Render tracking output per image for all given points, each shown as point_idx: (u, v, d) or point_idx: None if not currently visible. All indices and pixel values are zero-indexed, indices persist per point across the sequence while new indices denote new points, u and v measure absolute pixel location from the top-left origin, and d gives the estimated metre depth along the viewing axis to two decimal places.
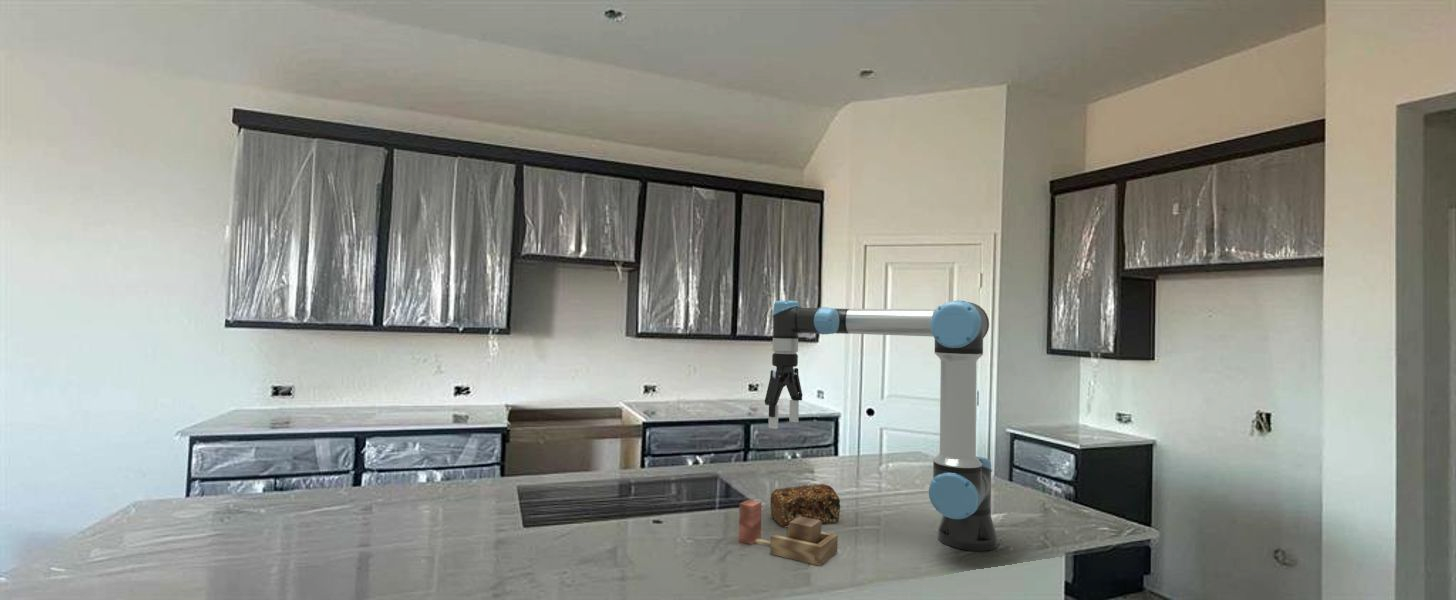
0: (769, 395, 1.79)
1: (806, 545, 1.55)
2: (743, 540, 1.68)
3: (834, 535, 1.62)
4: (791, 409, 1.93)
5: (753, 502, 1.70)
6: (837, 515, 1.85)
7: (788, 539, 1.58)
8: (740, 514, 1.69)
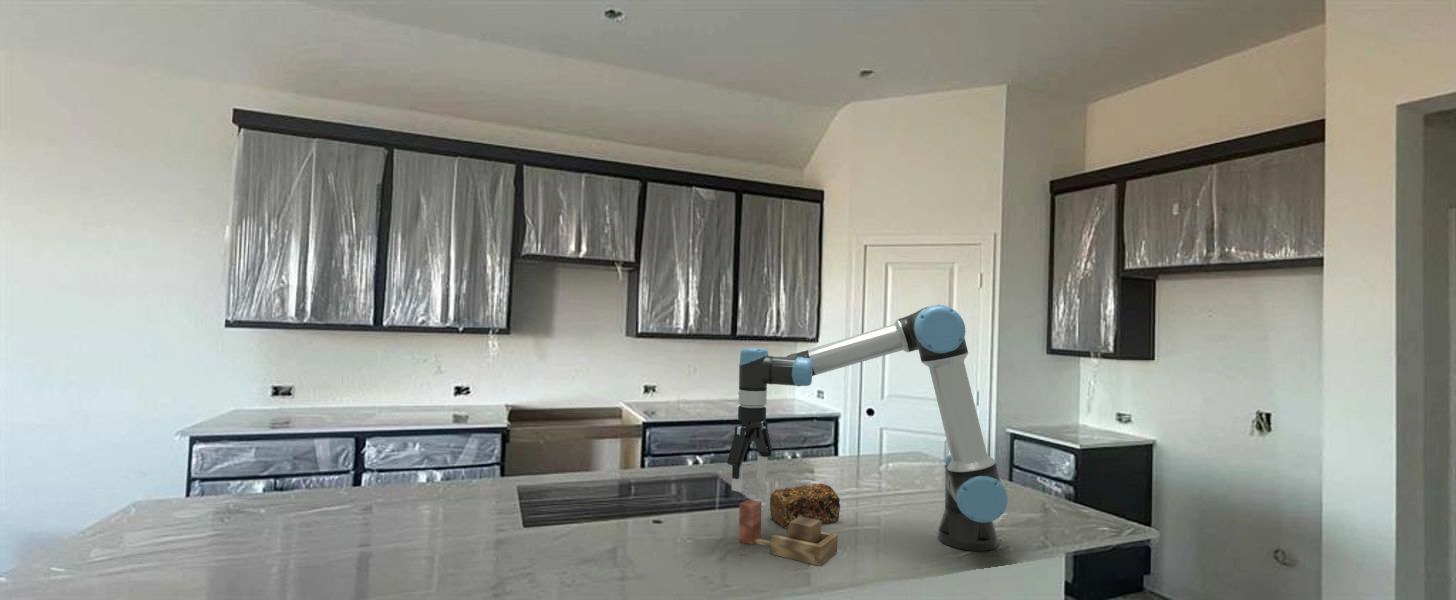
0: (732, 455, 1.62)
1: (806, 545, 1.55)
2: (743, 540, 1.68)
3: (834, 535, 1.62)
4: (759, 466, 1.76)
5: (753, 502, 1.70)
6: (837, 514, 1.86)
7: (788, 539, 1.58)
8: (740, 514, 1.69)
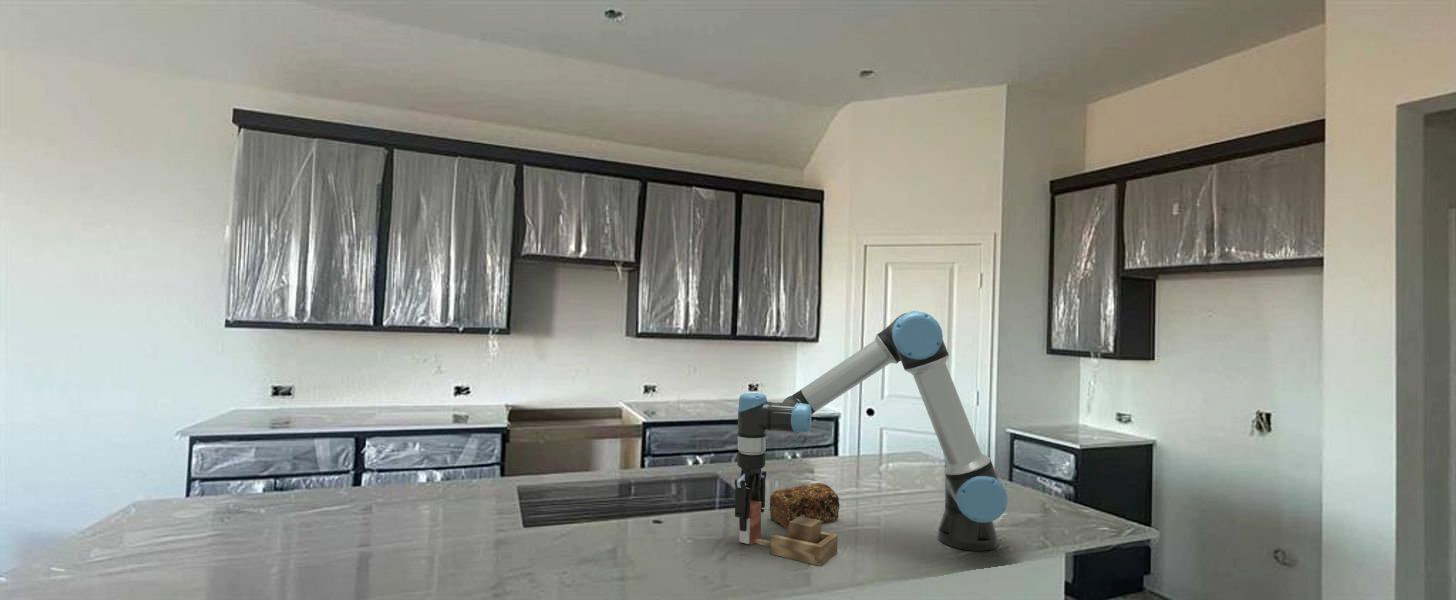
0: (738, 509, 1.65)
1: (806, 545, 1.55)
2: None
3: (834, 535, 1.62)
4: None
5: (753, 502, 1.70)
6: (836, 513, 1.87)
7: (788, 539, 1.58)
8: None
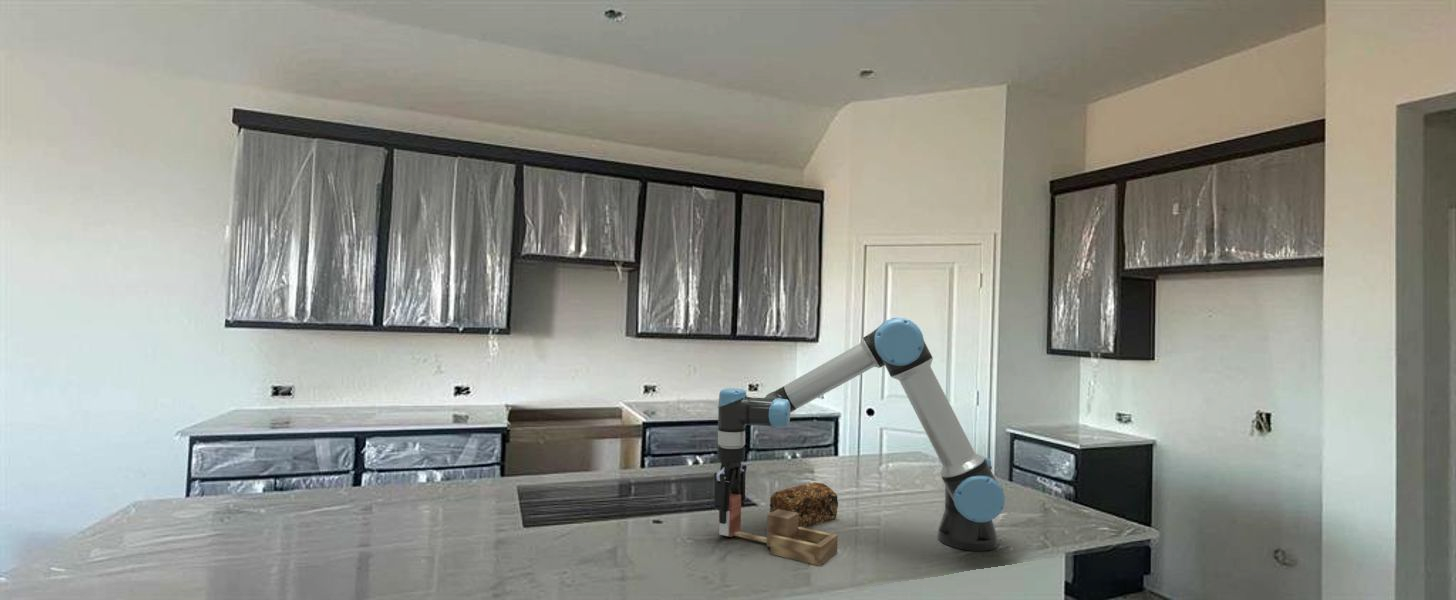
0: (718, 502, 1.68)
1: (806, 545, 1.55)
2: None
3: (834, 535, 1.62)
4: None
5: (733, 495, 1.73)
6: (835, 511, 1.89)
7: (788, 539, 1.58)
8: None
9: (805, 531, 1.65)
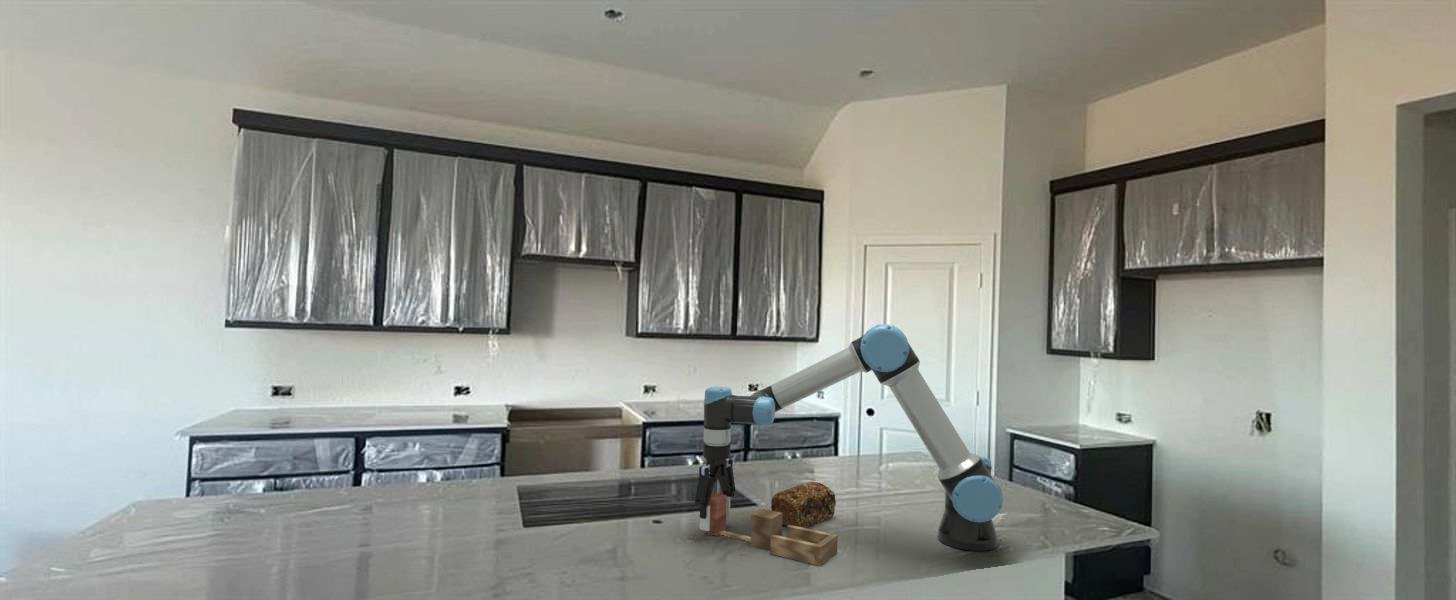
0: (699, 496, 1.69)
1: (806, 545, 1.55)
2: (708, 532, 1.74)
3: (834, 535, 1.62)
4: None
5: (718, 496, 1.76)
6: (833, 510, 1.90)
7: (788, 539, 1.58)
8: None
9: (805, 531, 1.65)
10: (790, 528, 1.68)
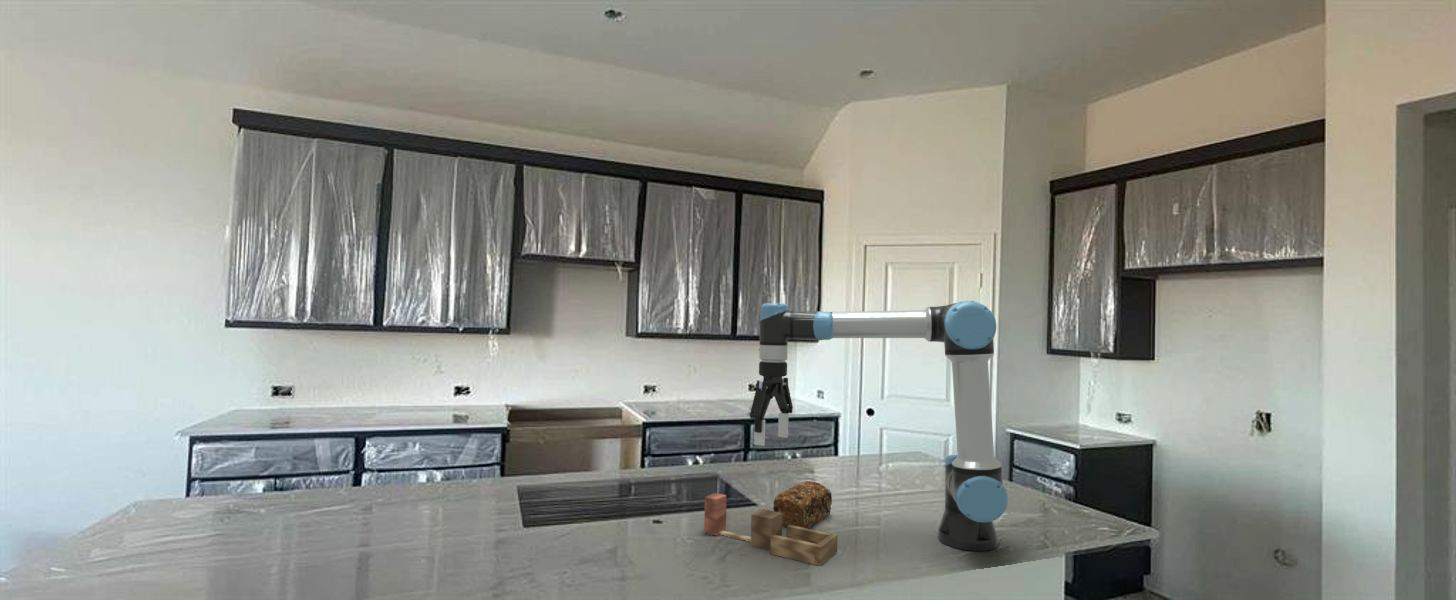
0: (755, 408, 1.62)
1: (806, 545, 1.55)
2: (708, 532, 1.74)
3: (834, 535, 1.62)
4: (780, 423, 1.75)
5: (718, 496, 1.76)
6: (830, 508, 1.92)
7: (788, 539, 1.58)
8: (705, 507, 1.74)
9: (805, 531, 1.65)
10: (790, 528, 1.68)
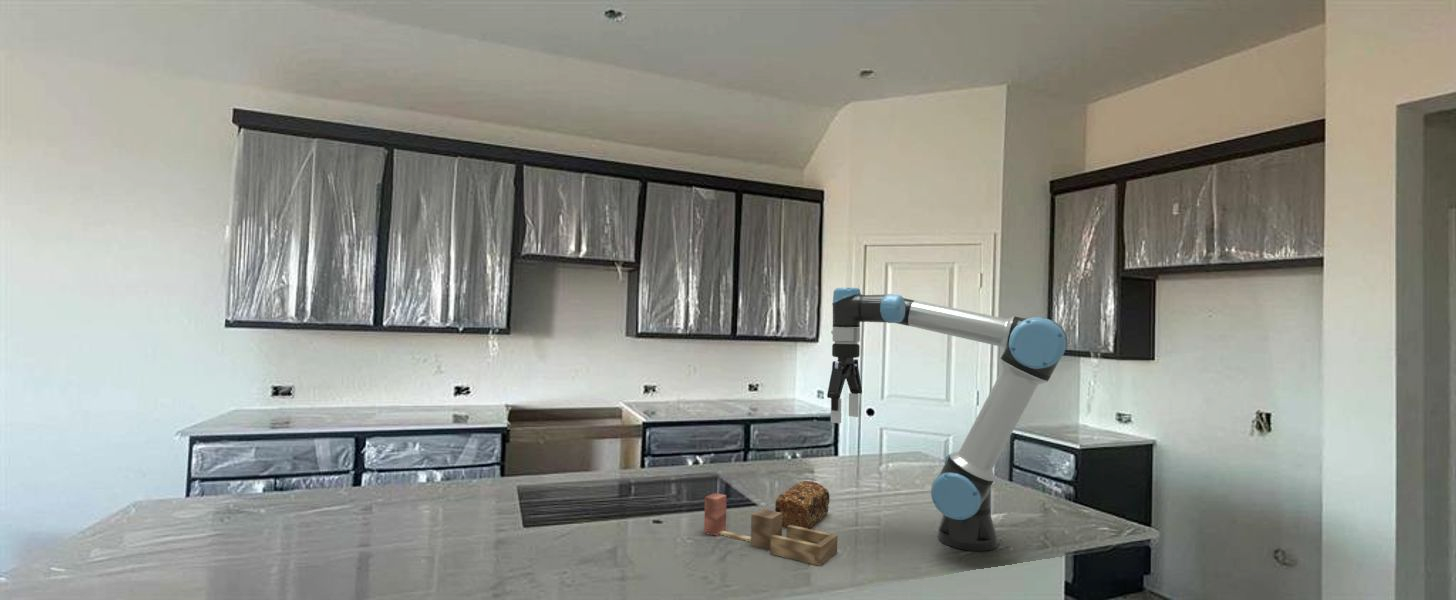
0: (832, 387, 1.69)
1: (806, 545, 1.55)
2: (708, 532, 1.74)
3: (834, 535, 1.62)
4: (851, 403, 1.83)
5: (718, 496, 1.76)
6: (828, 507, 1.93)
7: (788, 539, 1.58)
8: (705, 507, 1.74)
9: (805, 531, 1.65)
10: (790, 528, 1.68)
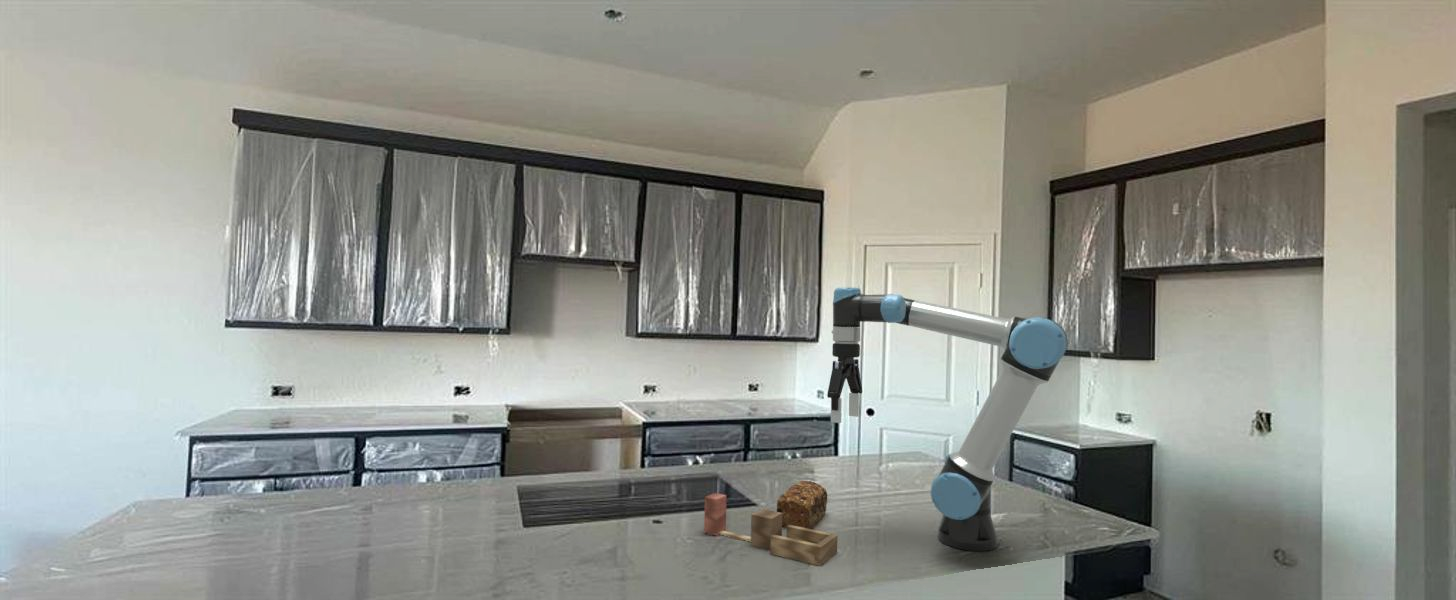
0: (832, 387, 1.69)
1: (806, 545, 1.55)
2: (708, 532, 1.74)
3: (834, 535, 1.62)
4: (851, 402, 1.83)
5: (718, 496, 1.76)
6: (826, 506, 1.93)
7: (788, 539, 1.58)
8: (705, 507, 1.74)
9: (805, 531, 1.65)
10: (790, 528, 1.68)
